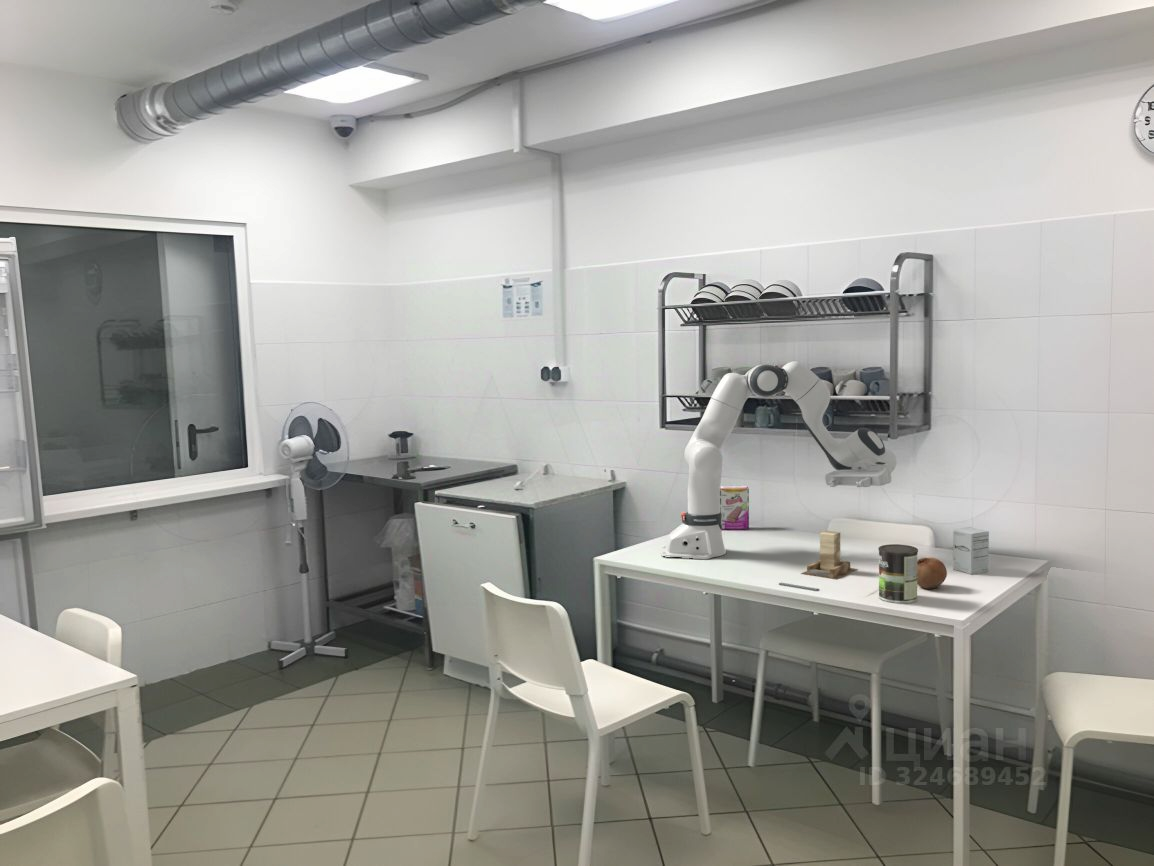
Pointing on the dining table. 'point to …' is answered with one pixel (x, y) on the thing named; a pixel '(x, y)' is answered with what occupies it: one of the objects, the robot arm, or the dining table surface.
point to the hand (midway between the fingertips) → (845, 484)
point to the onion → (930, 573)
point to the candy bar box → (734, 507)
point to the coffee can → (898, 573)
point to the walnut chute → (834, 572)
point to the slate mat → (799, 586)
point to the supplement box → (970, 550)
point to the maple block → (829, 550)
